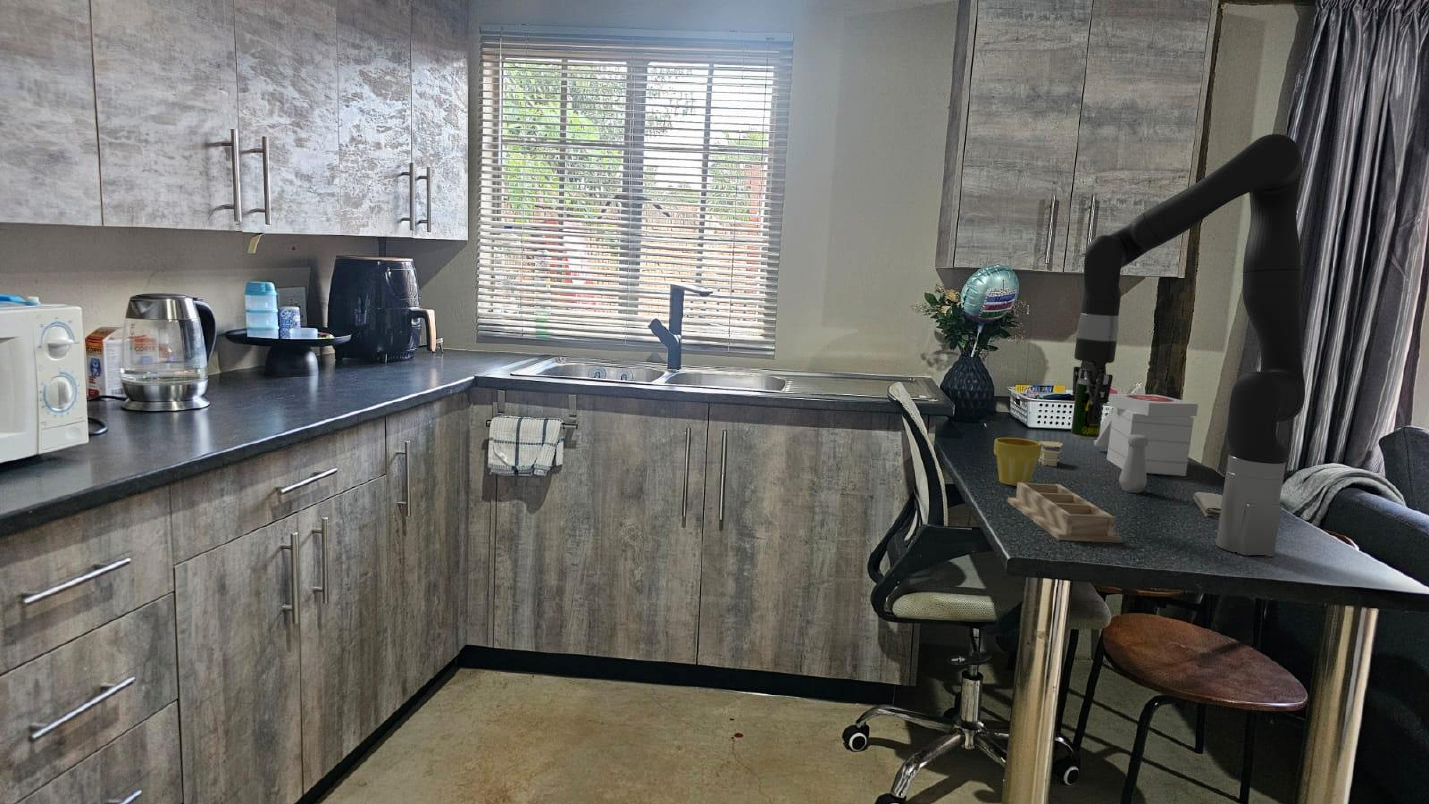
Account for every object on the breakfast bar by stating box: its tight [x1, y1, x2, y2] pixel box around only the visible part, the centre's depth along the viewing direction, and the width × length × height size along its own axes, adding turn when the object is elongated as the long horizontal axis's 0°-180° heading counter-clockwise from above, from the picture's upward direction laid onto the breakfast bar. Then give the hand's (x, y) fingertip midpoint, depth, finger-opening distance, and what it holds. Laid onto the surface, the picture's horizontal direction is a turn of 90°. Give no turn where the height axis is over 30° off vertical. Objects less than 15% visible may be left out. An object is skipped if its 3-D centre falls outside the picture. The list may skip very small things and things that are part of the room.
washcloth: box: [1192, 491, 1223, 520], centre depth 211 cm, size 12×18×3 cm, turn 163°
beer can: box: [1070, 377, 1104, 441], centre depth 196 cm, size 5×5×12 cm
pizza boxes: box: [1093, 393, 1199, 477], centre depth 258 cm, size 19×30×18 cm, turn 176°
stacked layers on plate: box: [1037, 440, 1064, 467], centre depth 250 cm, size 10×9×6 cm
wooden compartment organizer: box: [1007, 482, 1123, 544], centre depth 193 cm, size 27×12×4 cm, turn 3°
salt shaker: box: [1118, 434, 1148, 494], centre depth 224 cm, size 6×6×13 cm
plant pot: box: [993, 437, 1042, 487], centre depth 224 cm, size 10×10×10 cm
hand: (1086, 420), depth 197 cm, fingers closed on beer can, 5 cm apart
